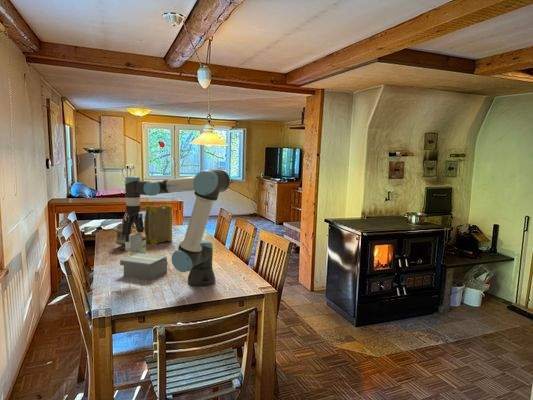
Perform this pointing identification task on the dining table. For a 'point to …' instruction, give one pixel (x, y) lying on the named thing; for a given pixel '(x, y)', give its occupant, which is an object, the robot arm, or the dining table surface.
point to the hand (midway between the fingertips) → (133, 245)
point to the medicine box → (135, 242)
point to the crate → (145, 270)
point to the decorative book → (158, 223)
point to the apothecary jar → (120, 236)
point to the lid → (142, 259)
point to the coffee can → (140, 249)
